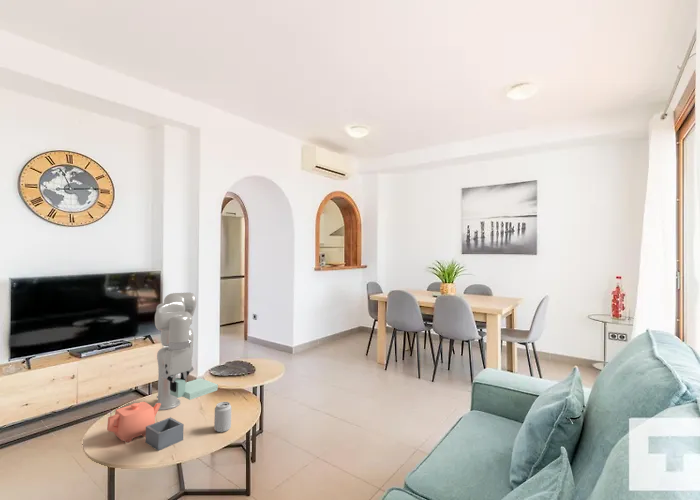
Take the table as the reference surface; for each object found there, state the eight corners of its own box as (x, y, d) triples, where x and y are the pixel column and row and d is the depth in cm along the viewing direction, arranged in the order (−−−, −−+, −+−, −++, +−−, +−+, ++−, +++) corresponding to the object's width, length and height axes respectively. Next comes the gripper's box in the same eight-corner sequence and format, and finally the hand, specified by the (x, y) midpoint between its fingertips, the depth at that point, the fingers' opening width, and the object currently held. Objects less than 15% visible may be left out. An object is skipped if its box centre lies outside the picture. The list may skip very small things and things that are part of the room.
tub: (145, 442, 156) (145, 426, 157) (170, 432, 166) (170, 417, 166) (158, 450, 150) (158, 434, 150) (183, 440, 159) (183, 424, 159)
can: (234, 427, 172) (234, 402, 172) (223, 434, 165) (224, 408, 165) (221, 424, 174) (222, 399, 174) (210, 431, 167) (211, 405, 167)
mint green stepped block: (165, 394, 150) (166, 377, 150) (200, 383, 163) (200, 368, 163) (182, 402, 142) (183, 384, 142) (217, 390, 155) (218, 374, 155)
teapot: (154, 421, 175) (155, 393, 176) (166, 430, 168) (167, 400, 168) (102, 439, 158) (103, 407, 158) (112, 449, 150) (113, 416, 150)
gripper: (192, 340, 156) (191, 382, 156) (154, 347, 143) (152, 393, 143) (202, 342, 152) (200, 386, 152) (163, 351, 138) (162, 398, 138)
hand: (177, 389), depth 147 cm, fingers closed on mint green stepped block, 3 cm apart
